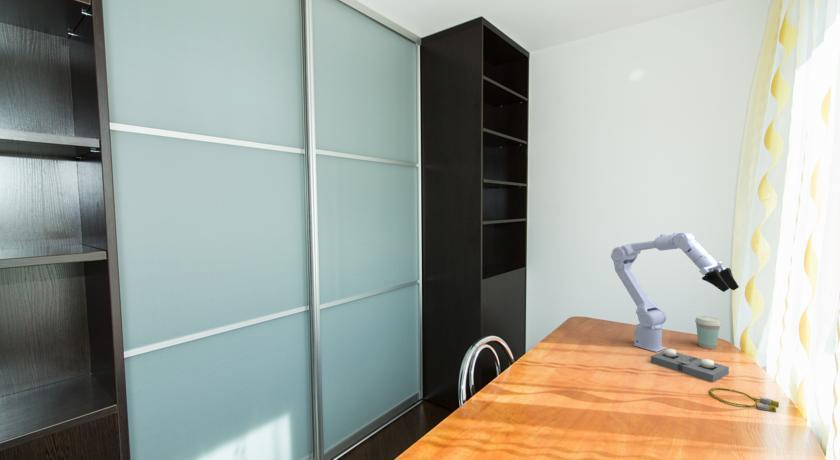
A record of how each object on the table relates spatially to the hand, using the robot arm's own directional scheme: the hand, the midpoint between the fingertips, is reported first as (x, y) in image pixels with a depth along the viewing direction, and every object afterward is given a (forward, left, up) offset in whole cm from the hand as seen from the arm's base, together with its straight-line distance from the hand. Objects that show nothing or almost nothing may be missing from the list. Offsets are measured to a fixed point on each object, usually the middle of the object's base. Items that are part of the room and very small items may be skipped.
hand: (731, 289), depth 134 cm
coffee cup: (-15, +22, -30) cm, 40 cm away
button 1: (-15, -8, -27) cm, 32 cm away
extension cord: (+11, -21, -30) cm, 38 cm away
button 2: (-3, -8, -27) cm, 28 cm away
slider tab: (-9, -11, -27) cm, 30 cm away
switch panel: (-9, -8, -29) cm, 32 cm away
